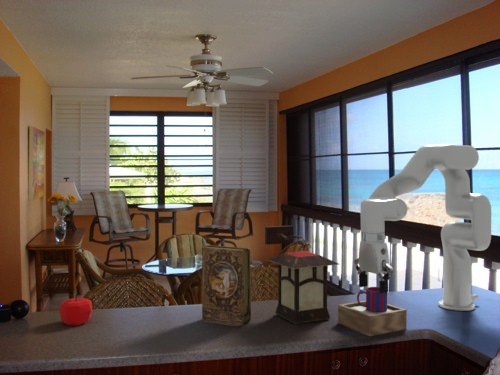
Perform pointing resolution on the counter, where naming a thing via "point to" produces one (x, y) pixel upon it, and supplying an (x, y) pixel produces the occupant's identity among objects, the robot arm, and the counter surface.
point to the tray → (371, 318)
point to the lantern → (299, 280)
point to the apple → (75, 311)
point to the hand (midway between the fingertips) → (373, 289)
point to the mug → (374, 300)
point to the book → (226, 285)
